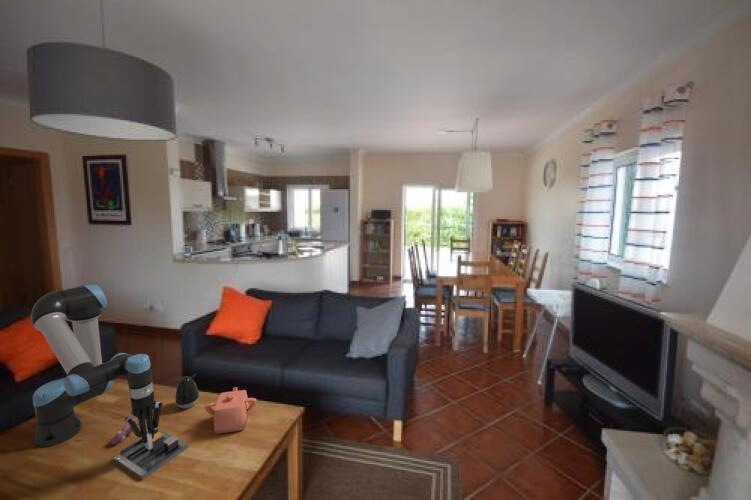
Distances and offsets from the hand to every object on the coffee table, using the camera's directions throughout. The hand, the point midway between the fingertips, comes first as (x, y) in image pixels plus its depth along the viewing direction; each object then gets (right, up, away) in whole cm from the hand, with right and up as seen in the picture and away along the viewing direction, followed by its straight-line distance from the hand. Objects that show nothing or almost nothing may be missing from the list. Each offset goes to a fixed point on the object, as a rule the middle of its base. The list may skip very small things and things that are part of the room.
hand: (149, 447), depth 135 cm
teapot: (+25, 0, +22) cm, 33 cm away
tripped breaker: (+1, -1, +3) cm, 3 cm away
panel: (0, -3, +1) cm, 3 cm away
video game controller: (-17, -2, +11) cm, 20 cm away
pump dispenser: (-2, +2, +33) cm, 33 cm away
